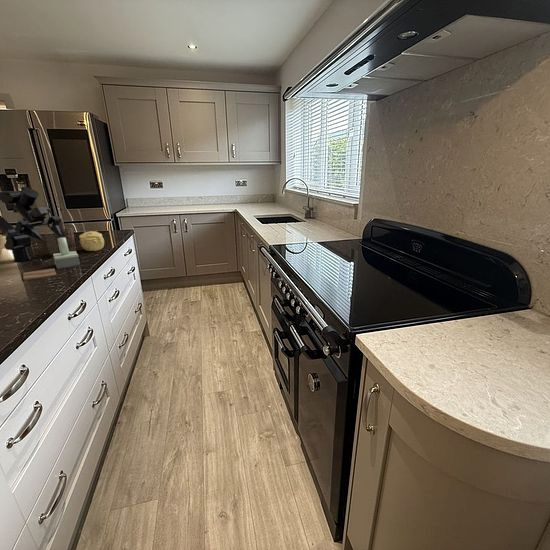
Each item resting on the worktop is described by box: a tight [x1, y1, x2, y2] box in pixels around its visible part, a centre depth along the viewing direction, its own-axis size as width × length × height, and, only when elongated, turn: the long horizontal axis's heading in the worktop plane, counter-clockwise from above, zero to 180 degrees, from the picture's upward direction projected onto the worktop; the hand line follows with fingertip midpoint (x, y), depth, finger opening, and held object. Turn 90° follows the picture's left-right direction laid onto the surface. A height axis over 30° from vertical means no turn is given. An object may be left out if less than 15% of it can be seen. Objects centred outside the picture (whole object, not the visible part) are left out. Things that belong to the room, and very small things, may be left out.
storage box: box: [53, 256, 81, 270], centre depth 141 cm, size 9×9×4 cm
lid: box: [52, 237, 79, 261], centre depth 139 cm, size 9×9×9 cm
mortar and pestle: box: [53, 219, 78, 253], centre depth 158 cm, size 12×9×20 cm
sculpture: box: [78, 230, 105, 252], centre depth 169 cm, size 12×12×11 cm
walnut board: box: [22, 267, 57, 282], centre depth 129 cm, size 11×11×1 cm
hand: (51, 237), depth 140 cm, fingers open, 9 cm apart
